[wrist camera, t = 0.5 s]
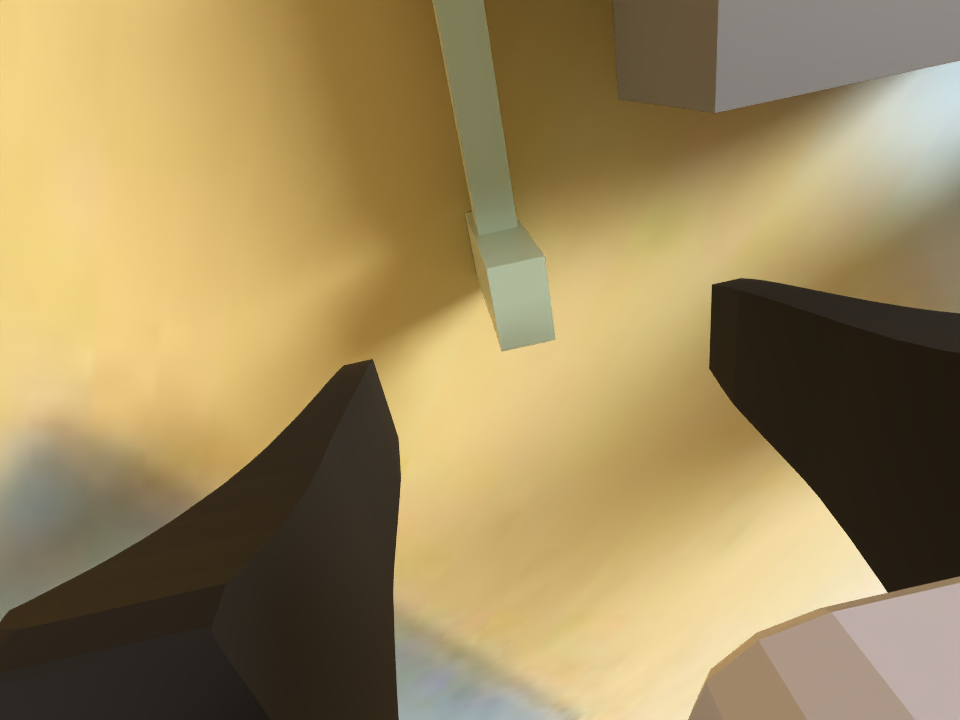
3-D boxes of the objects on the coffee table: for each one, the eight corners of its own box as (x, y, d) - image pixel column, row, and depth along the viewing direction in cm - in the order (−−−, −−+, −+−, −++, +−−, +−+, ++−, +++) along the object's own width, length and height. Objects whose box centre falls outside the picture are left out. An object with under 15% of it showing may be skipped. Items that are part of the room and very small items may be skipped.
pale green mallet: (487, -236, 13) (537, -431, 8) (549, 261, 20) (600, 329, 15) (331, -204, 13) (281, -380, 8) (444, 283, 20) (456, 361, 15)
